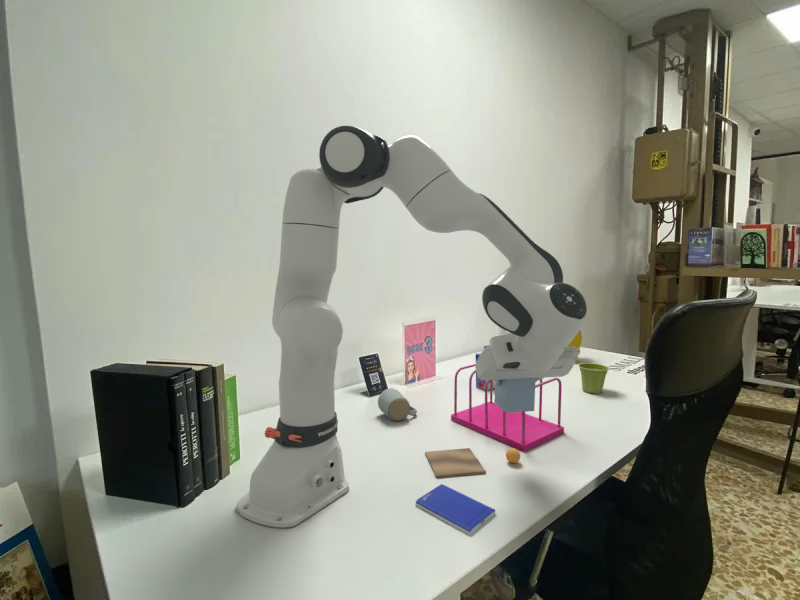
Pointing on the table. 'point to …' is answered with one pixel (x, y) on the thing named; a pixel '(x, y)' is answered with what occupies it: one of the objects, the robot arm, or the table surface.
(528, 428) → the file sorter
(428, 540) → the table surface
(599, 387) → the plant pot
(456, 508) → the hard drive
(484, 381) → the ink cartridge box
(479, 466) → the coaster
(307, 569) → the table surface
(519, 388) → the grey block with knob
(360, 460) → the table surface
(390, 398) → the ceramic mug
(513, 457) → the ball
